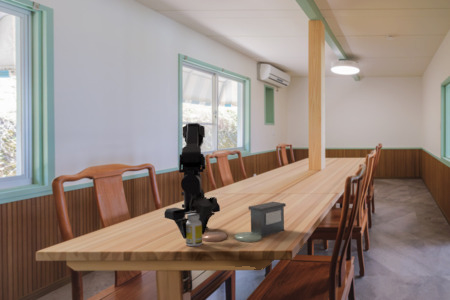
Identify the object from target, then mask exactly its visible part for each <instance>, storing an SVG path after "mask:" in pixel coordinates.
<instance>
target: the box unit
mask: <svg viewBox="0 0 450 300" xmlns="http://www.w3.org/2000/svg"><path fill="white" fill-rule="evenodd" d="M286 206H287V205H286V203H284V202H277V201H270V202H265V203H259V204H256V205H251V206H248V210H249V211H250V232H253V233H258V234H261V238H265V237H268V236H271V235H273V234H274V235H275V234H277V233H282V232H284V231H285V215H284V214H285V213H284V212H285V210H284V208H285V207H286Z"/></svg>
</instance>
